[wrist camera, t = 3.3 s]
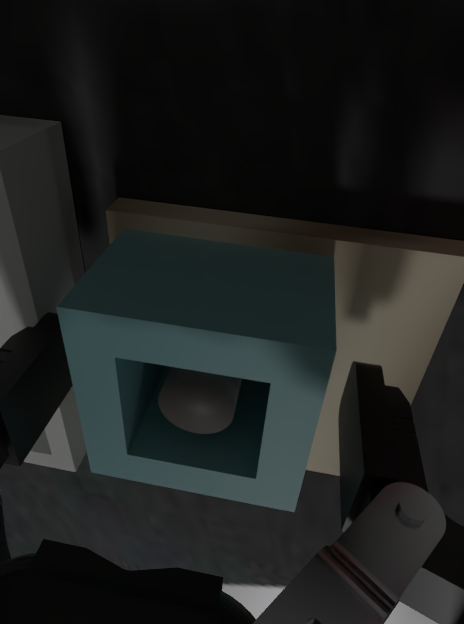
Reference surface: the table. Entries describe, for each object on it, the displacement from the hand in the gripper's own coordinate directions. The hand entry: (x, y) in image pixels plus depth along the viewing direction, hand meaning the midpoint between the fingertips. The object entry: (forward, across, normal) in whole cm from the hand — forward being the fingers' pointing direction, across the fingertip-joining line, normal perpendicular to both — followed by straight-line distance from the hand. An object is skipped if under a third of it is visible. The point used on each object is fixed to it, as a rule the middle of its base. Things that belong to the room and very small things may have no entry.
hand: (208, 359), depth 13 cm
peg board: (+3, -2, +2) cm, 3 cm away
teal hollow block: (+2, 0, 0) cm, 2 cm away
